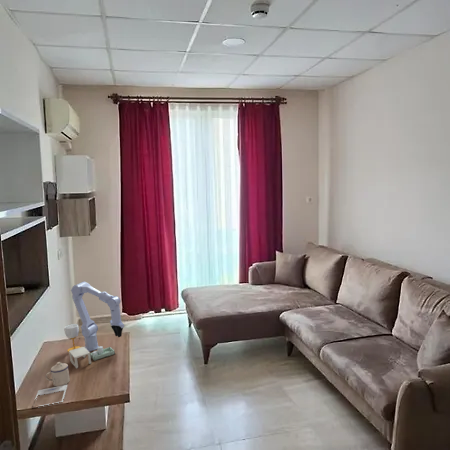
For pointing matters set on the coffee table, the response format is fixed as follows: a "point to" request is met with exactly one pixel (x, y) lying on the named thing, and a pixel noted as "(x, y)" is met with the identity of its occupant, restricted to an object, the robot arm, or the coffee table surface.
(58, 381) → the teacup with lid
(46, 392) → the photo frame
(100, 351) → the round-ended grey cylinder
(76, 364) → the shelf
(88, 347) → the robot arm
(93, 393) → the coffee table surface
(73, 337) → the cup
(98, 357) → the tray
